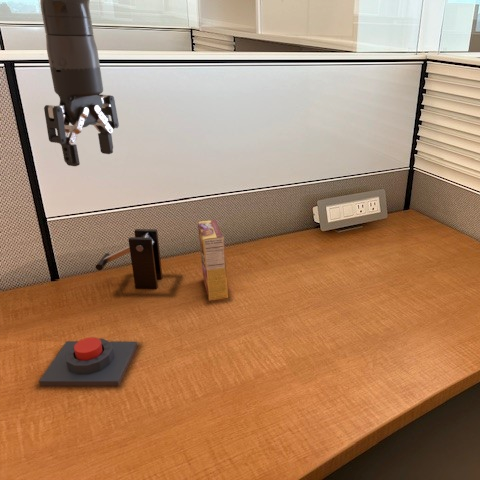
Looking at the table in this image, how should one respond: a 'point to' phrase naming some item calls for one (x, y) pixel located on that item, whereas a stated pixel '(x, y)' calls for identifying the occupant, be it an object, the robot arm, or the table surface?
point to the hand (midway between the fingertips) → (90, 159)
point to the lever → (116, 255)
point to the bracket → (145, 259)
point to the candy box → (213, 259)
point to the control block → (90, 366)
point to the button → (88, 349)
